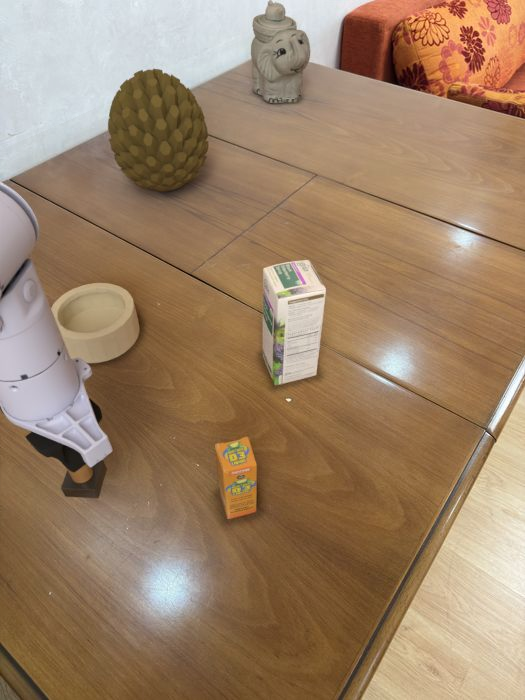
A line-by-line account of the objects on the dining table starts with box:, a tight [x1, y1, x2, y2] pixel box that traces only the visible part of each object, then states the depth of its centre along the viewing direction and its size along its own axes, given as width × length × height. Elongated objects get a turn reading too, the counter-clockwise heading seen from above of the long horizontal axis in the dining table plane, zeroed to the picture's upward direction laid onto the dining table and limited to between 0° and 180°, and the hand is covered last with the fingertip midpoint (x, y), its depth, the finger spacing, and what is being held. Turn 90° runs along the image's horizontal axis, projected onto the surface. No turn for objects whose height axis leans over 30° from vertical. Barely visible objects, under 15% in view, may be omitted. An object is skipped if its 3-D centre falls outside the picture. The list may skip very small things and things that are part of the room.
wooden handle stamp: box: [60, 459, 108, 499], centre depth 48 cm, size 3×3×9 cm
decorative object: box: [107, 68, 209, 193], centre depth 92 cm, size 17×17×20 cm
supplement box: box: [214, 436, 258, 520], centre depth 52 cm, size 3×3×10 cm
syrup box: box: [261, 259, 327, 386], centre depth 63 cm, size 6×6×14 cm
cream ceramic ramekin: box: [51, 282, 140, 364], centre depth 71 cm, size 11×11×4 cm
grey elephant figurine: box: [250, 0, 311, 104], centre depth 120 cm, size 16×15×19 cm
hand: (73, 455), depth 48 cm, fingers closed on wooden handle stamp, 2 cm apart
